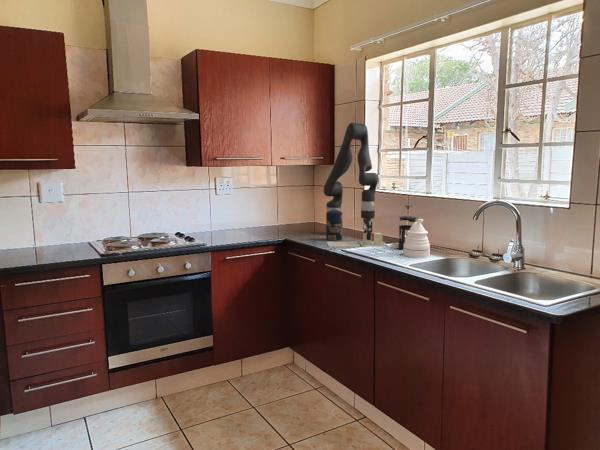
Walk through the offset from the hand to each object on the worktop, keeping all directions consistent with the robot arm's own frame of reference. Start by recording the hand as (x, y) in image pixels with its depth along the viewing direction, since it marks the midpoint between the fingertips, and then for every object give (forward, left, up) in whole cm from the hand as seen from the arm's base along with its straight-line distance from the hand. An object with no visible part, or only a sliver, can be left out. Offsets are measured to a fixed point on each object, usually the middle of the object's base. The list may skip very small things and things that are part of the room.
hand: (367, 238), depth 264 cm
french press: (+11, +20, -4) cm, 23 cm away
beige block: (0, 0, -3) cm, 3 cm away
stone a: (0, +6, -3) cm, 7 cm away
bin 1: (0, -14, -4) cm, 14 cm away
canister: (-17, -16, -4) cm, 24 cm away
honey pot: (+28, +20, -4) cm, 34 cm away
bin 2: (0, +3, -4) cm, 5 cm away
